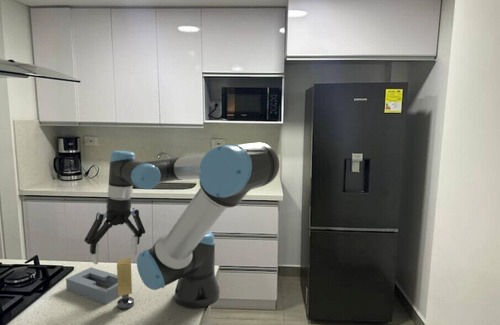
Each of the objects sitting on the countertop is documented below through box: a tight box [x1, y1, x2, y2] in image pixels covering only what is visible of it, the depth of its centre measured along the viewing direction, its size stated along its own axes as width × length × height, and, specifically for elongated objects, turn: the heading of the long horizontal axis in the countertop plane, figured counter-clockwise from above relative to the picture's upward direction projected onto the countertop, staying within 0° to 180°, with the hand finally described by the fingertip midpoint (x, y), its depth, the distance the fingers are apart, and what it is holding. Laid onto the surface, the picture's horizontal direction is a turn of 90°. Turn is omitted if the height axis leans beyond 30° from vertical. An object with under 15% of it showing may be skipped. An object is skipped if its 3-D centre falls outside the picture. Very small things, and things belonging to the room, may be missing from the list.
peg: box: [116, 257, 135, 311], centre depth 105 cm, size 5×5×15 cm
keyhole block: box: [65, 266, 122, 305], centre depth 115 cm, size 20×10×4 cm, turn 64°
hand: (115, 258), depth 112 cm, fingers open, 13 cm apart
